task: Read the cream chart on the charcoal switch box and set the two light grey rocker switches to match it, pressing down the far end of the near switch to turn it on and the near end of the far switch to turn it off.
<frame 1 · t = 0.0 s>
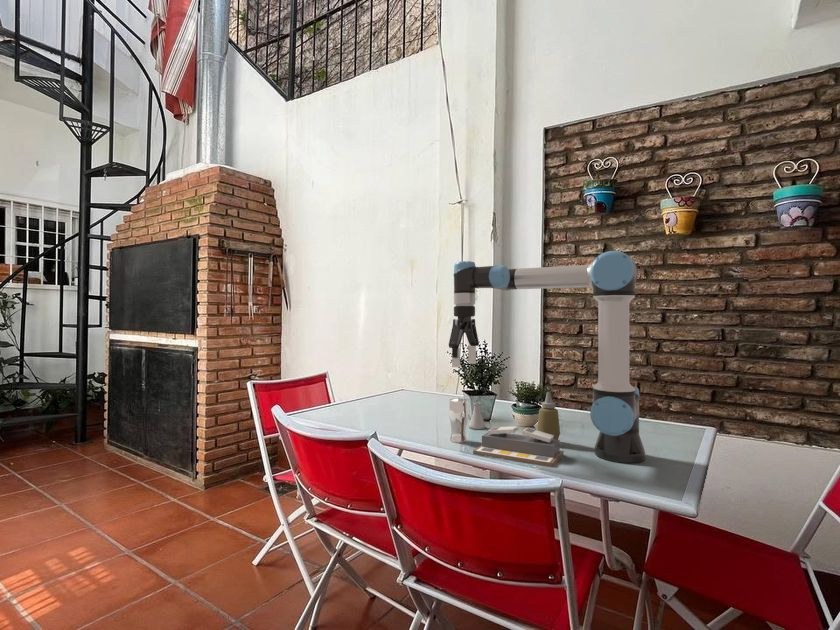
hand: (464, 365, 162), 28 cm above the table, tool pointing down, fingers open, 13 cm apart
squeeze bottle: (548, 443, 165), on the table
flask: (477, 428, 187), on the table
beer glass: (458, 441, 167), on the table
far switch: (502, 430, 156), point 7 cm above the table, hinge at 10.0°
switch box: (518, 454, 151), on the table
near switch: (538, 434, 150), point 7 cm above the table, hinge at -10.0°
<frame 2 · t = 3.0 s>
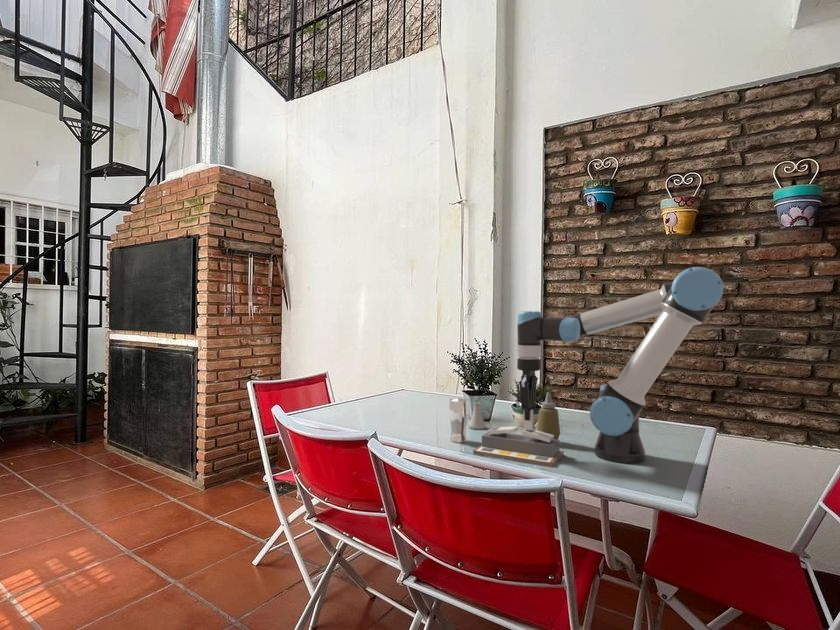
hand: (528, 429, 151), 8 cm above the table, tool pointing down, fingers closed
near switch: (538, 434, 150), point 7 cm above the table, hinge at -9.7°, touching gripper
everything else where it was.
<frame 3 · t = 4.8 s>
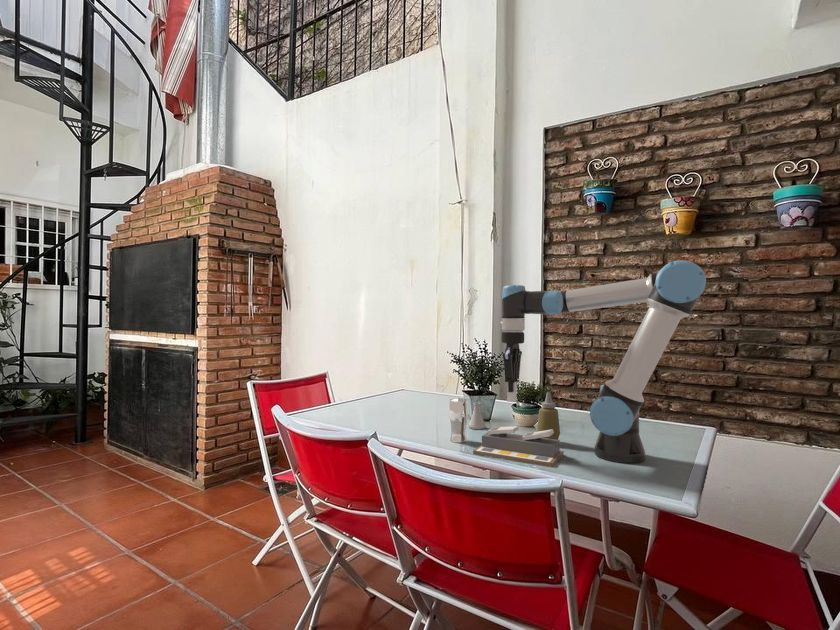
hand: (511, 401, 154), 17 cm above the table, tool pointing down, fingers closed
near switch: (538, 434, 150), point 7 cm above the table, hinge at 15.9°, touching switch box
everything else where it was.
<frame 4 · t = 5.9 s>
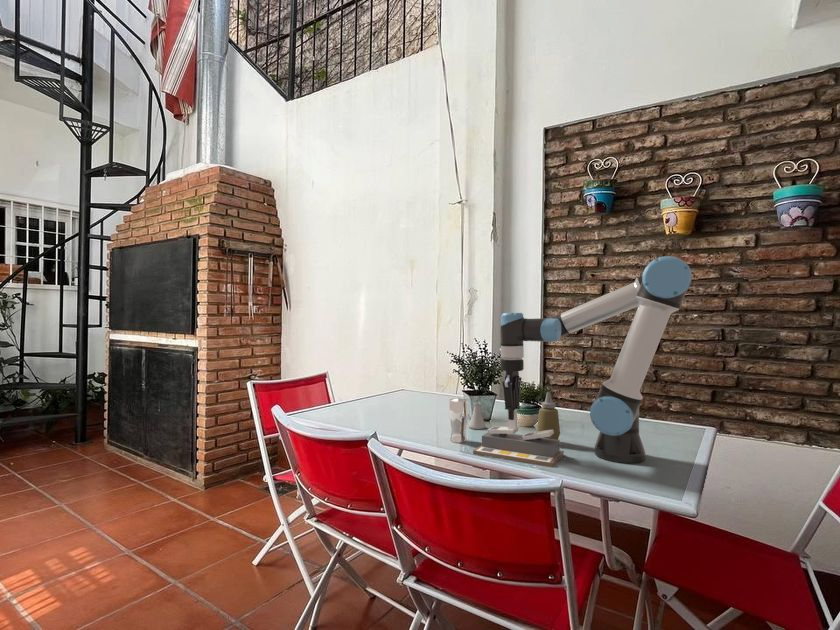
hand: (512, 428, 154), 8 cm above the table, tool pointing down, fingers closed
far switch: (502, 430, 156), point 7 cm above the table, hinge at 5.5°, touching gripper
near switch: (538, 434, 150), point 7 cm above the table, hinge at 15.2°
everything else where it was.
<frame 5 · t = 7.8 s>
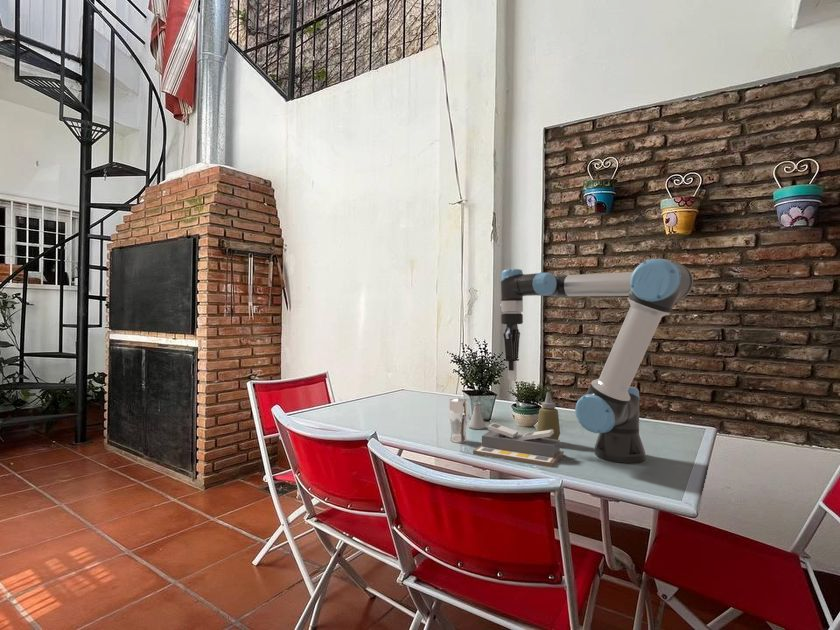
hand: (512, 379, 163), 23 cm above the table, tool pointing down, fingers closed
far switch: (502, 430, 156), point 7 cm above the table, hinge at -11.7°
everything else where it was.
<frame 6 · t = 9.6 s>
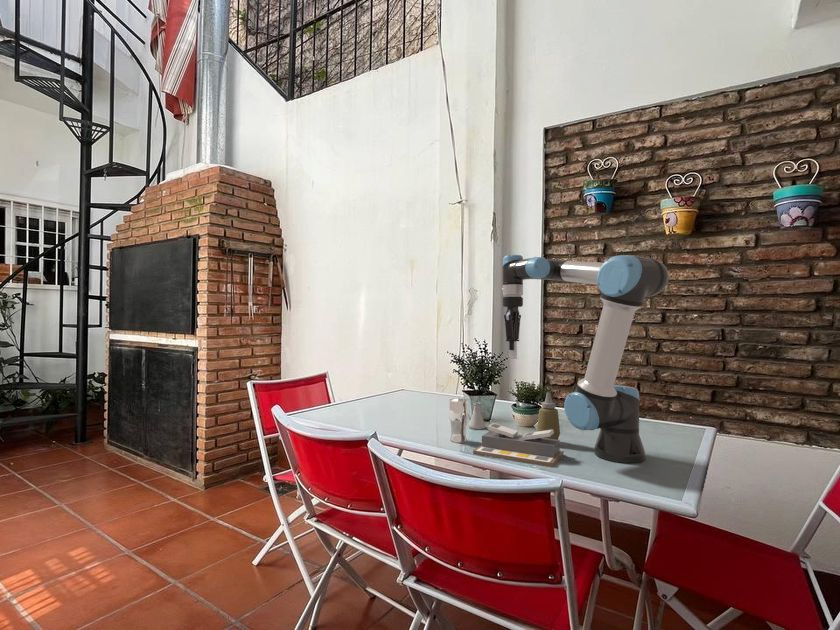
hand: (512, 358, 174), 29 cm above the table, tool pointing down, fingers closed
far switch: (502, 430, 156), point 7 cm above the table, hinge at -10.8°
everything else where it was.
at the end: near switch at +15° (first picture: -10°); far switch at -11° (first picture: +10°) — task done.
